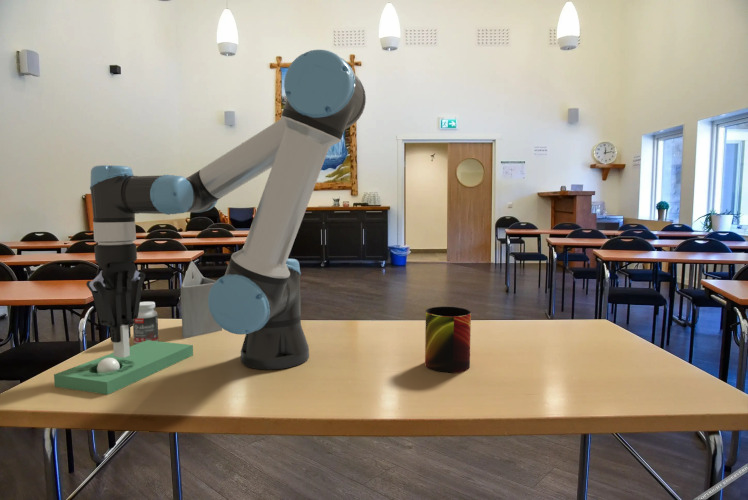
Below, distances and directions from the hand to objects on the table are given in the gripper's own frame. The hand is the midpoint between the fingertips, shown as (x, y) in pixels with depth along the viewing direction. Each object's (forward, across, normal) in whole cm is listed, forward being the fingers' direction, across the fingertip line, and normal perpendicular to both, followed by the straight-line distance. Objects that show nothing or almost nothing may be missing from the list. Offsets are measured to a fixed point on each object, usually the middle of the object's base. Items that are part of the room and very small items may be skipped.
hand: (121, 355), depth 100 cm
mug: (+4, -27, +63) cm, 69 cm away
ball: (+1, +4, 0) cm, 4 cm away
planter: (+4, -34, -4) cm, 34 cm away
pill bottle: (+4, -20, -12) cm, 23 cm away
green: (+4, -2, 0) cm, 4 cm away
